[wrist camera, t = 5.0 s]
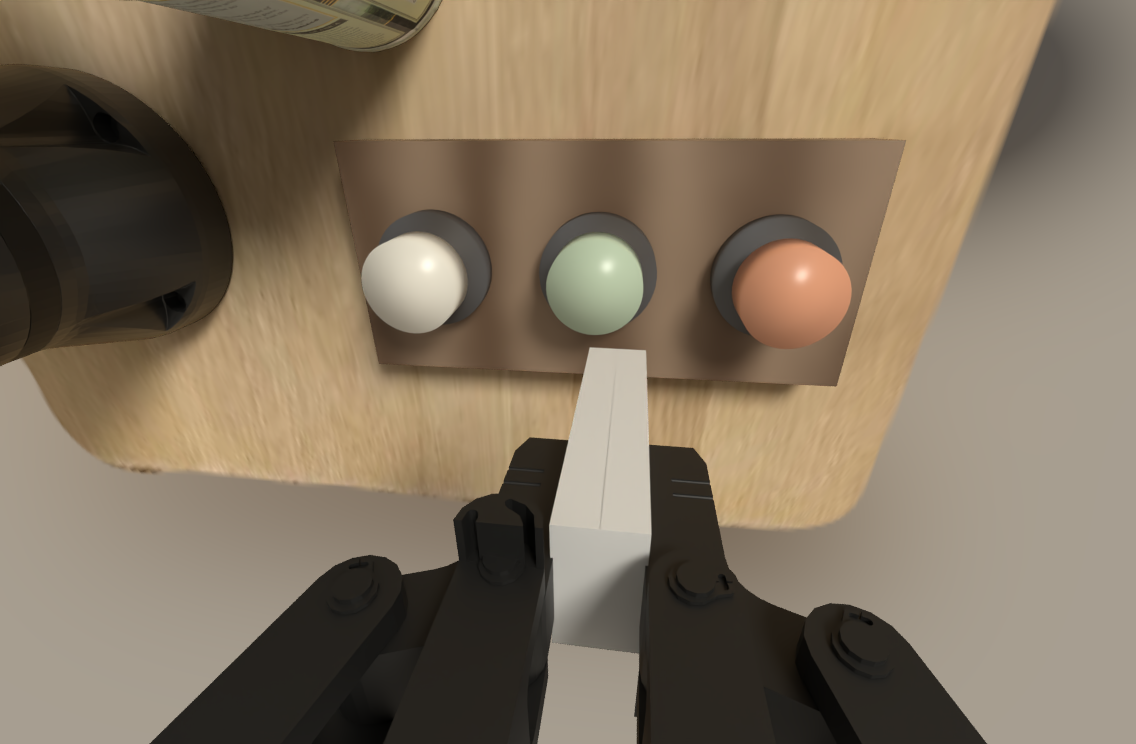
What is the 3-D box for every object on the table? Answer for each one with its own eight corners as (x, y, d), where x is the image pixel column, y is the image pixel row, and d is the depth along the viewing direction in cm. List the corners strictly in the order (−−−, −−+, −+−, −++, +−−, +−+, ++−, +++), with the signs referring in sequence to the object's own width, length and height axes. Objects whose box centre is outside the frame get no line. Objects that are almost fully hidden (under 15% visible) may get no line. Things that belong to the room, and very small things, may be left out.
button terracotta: (725, 330, 23) (733, 346, 22) (739, 237, 21) (749, 247, 20) (820, 333, 23) (836, 351, 21) (844, 239, 21) (864, 249, 19)
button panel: (400, 343, 32) (370, 372, 28) (363, 139, 26) (320, 142, 22) (817, 362, 29) (844, 396, 25) (874, 138, 23) (919, 141, 20)
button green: (553, 318, 25) (547, 333, 23) (551, 230, 23) (544, 239, 21) (639, 321, 24) (639, 336, 23) (645, 232, 22) (646, 241, 21)
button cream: (389, 316, 25) (371, 331, 23) (373, 230, 23) (352, 239, 21) (471, 320, 25) (459, 335, 23) (462, 232, 23) (448, 241, 21)
